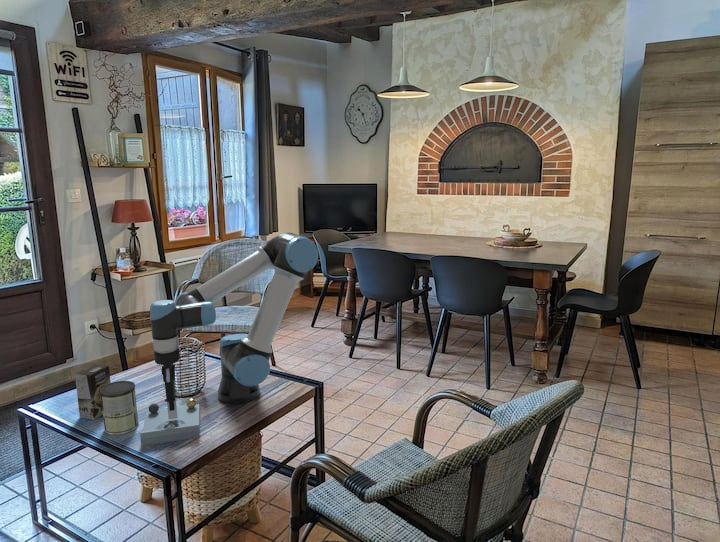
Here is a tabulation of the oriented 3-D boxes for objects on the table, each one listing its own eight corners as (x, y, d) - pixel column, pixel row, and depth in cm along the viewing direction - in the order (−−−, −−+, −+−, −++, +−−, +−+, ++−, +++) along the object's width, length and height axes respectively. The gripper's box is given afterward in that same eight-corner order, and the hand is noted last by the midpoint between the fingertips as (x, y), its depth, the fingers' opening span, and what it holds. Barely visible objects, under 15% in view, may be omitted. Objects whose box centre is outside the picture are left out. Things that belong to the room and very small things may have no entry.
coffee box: (94, 420, 171) (89, 375, 167) (79, 418, 172) (73, 373, 169) (114, 408, 179) (109, 365, 176) (99, 406, 181) (94, 363, 178)
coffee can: (98, 428, 165) (93, 388, 163) (129, 416, 173) (125, 377, 170) (113, 439, 159) (108, 397, 156) (144, 426, 167) (141, 386, 164)
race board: (199, 410, 178) (198, 398, 177) (199, 437, 160) (198, 424, 159) (147, 417, 173) (146, 405, 172) (141, 446, 155) (140, 433, 154)
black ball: (159, 409, 172) (158, 401, 172) (158, 414, 169) (158, 405, 169) (149, 411, 172) (148, 402, 171) (148, 415, 169) (147, 406, 168)
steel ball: (173, 424, 164) (179, 424, 162) (172, 434, 163) (178, 434, 161) (164, 424, 161) (170, 424, 160) (163, 435, 161) (169, 435, 159)
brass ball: (196, 405, 176) (195, 396, 175) (196, 409, 173) (195, 400, 172) (186, 406, 175) (186, 397, 174) (186, 410, 172) (185, 401, 171)
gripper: (154, 343, 165) (161, 410, 170) (152, 358, 153) (159, 429, 158) (179, 341, 167) (185, 407, 172) (178, 354, 155) (185, 425, 160)
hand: (173, 417), depth 165 cm, fingers closed
